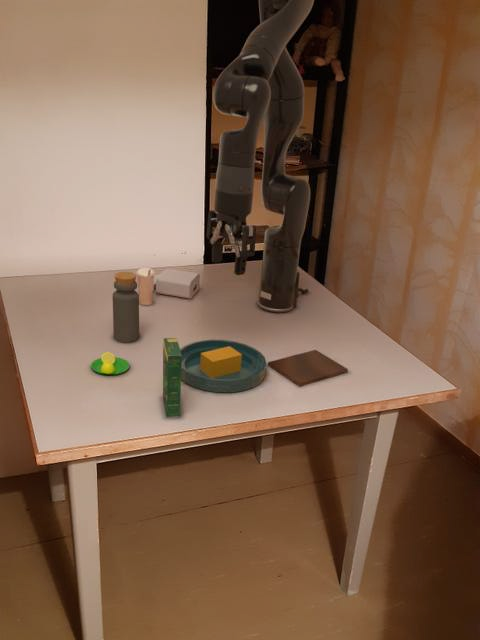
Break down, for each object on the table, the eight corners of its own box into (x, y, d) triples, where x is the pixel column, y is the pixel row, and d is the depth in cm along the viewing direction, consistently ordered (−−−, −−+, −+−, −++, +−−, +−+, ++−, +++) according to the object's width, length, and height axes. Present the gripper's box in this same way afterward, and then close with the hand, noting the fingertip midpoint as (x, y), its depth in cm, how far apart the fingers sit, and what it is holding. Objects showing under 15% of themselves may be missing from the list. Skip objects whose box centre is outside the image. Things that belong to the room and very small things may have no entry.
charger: (148, 280, 187) (199, 288, 185) (136, 291, 179) (189, 300, 177) (148, 263, 184) (200, 272, 182) (135, 274, 177) (190, 283, 174)
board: (315, 352, 155) (315, 349, 155) (347, 372, 148) (348, 369, 148) (267, 365, 148) (267, 362, 148) (299, 386, 141) (299, 383, 140)
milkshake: (140, 308, 170) (140, 270, 165) (134, 300, 174) (134, 263, 169) (158, 306, 172) (158, 269, 166) (151, 299, 176) (152, 262, 170)
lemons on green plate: (85, 363, 142) (85, 351, 141) (121, 356, 146) (120, 345, 145) (99, 379, 137) (98, 367, 135) (135, 372, 141) (135, 360, 139)
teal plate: (231, 345, 155) (232, 333, 154) (282, 380, 143) (284, 367, 141) (159, 362, 145) (159, 349, 144) (207, 401, 133) (208, 388, 131)
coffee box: (161, 396, 133) (162, 336, 126) (176, 396, 133) (177, 336, 126) (165, 418, 126) (166, 355, 119) (180, 417, 127) (182, 355, 120)
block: (228, 362, 147) (229, 346, 145) (240, 371, 144) (242, 354, 142) (199, 369, 143) (200, 352, 141) (211, 378, 140) (212, 361, 138)
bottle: (134, 344, 152) (133, 281, 144) (109, 340, 153) (107, 277, 145) (142, 334, 157) (142, 272, 149) (118, 330, 158) (117, 269, 150)
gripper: (271, 195, 129) (262, 276, 137) (230, 179, 139) (223, 256, 147) (239, 197, 125) (232, 281, 133) (199, 180, 135) (194, 259, 143)
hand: (227, 268), depth 140 cm, fingers open, 8 cm apart
